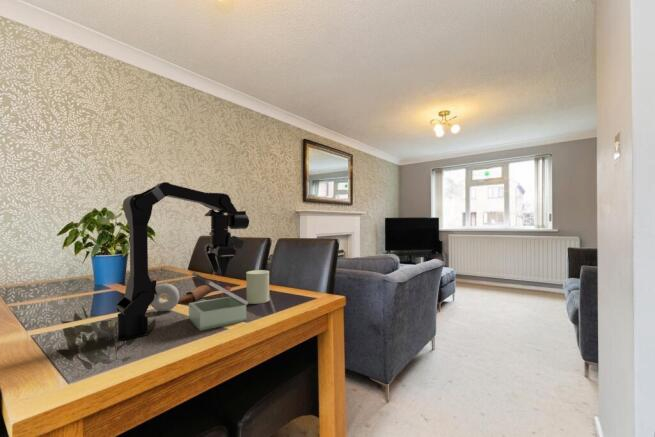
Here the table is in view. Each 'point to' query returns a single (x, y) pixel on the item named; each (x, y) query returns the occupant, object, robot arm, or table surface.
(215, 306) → the shallow mint tray
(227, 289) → the lid
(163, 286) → the donut
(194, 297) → the sunglasses case
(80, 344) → the table surface
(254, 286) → the can
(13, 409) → the table surface
